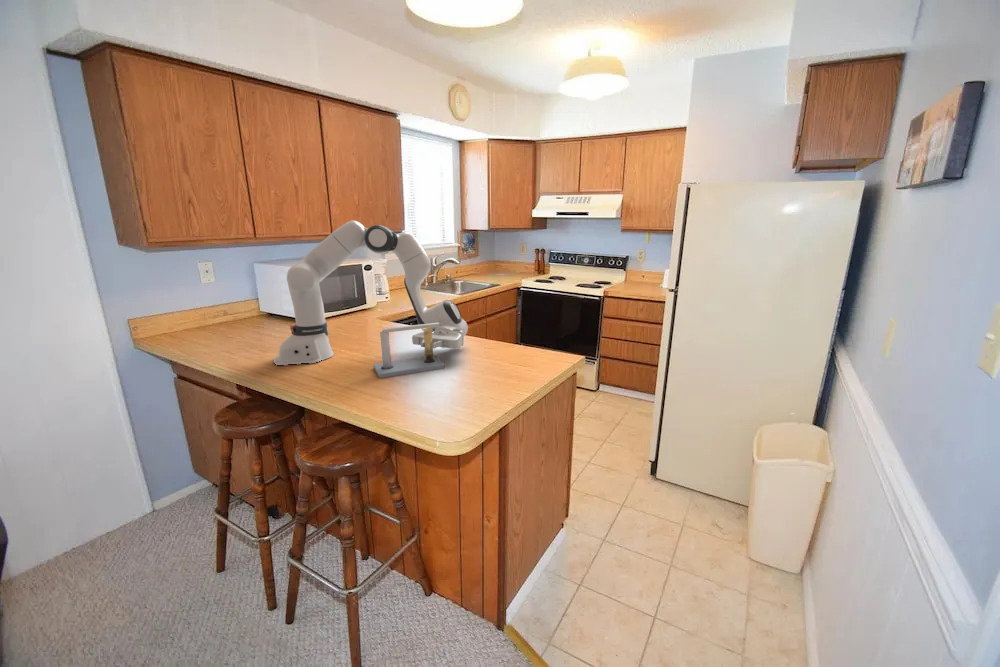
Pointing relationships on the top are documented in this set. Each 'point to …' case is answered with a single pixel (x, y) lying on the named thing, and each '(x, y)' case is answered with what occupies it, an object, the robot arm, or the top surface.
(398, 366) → the bolt plate
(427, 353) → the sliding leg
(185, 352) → the top surface
